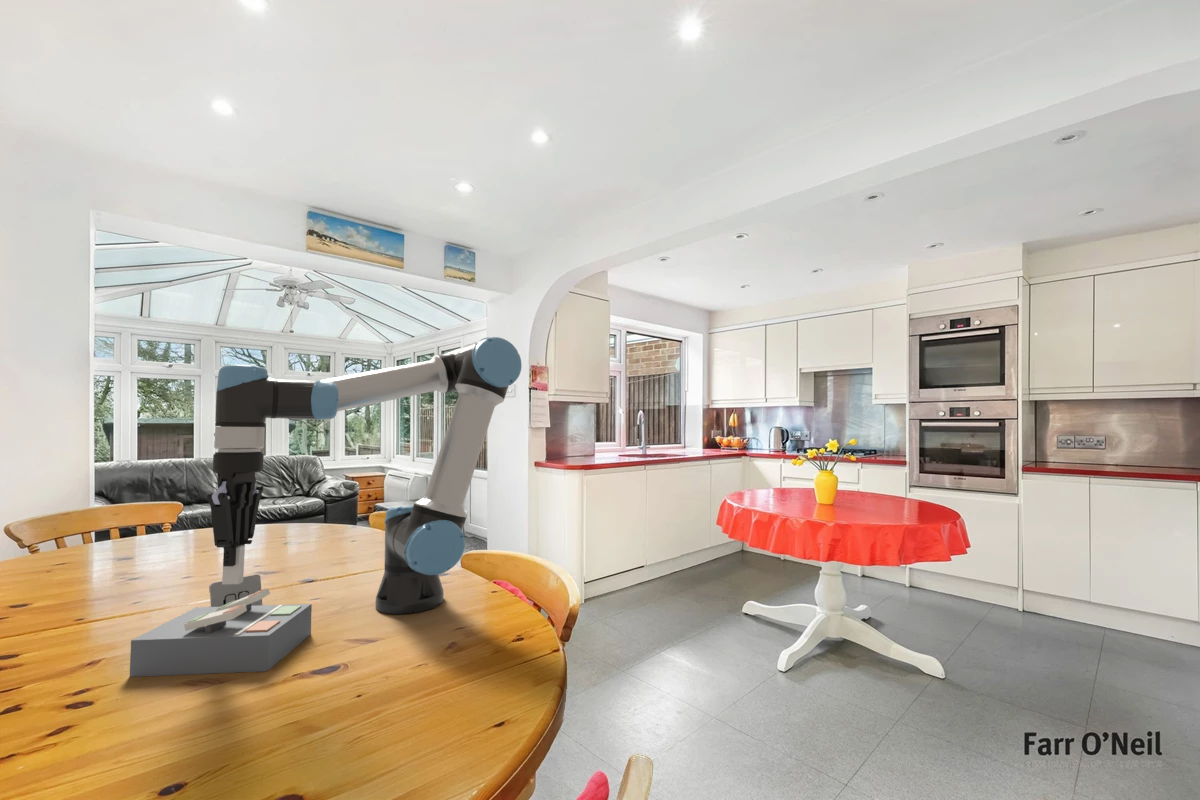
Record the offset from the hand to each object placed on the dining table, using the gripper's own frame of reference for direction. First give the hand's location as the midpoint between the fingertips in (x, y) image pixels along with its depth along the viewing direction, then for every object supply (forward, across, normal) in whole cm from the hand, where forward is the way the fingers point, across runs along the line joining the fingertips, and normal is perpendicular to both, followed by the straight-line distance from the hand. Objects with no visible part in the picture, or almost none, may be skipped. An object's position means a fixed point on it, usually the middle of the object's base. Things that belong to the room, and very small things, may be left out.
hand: (232, 582), depth 93 cm
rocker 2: (+6, -8, -3) cm, 10 cm away
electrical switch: (+14, -21, -12) cm, 28 cm away
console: (+14, -4, -2) cm, 15 cm away
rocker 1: (+6, 0, -3) cm, 7 cm away
